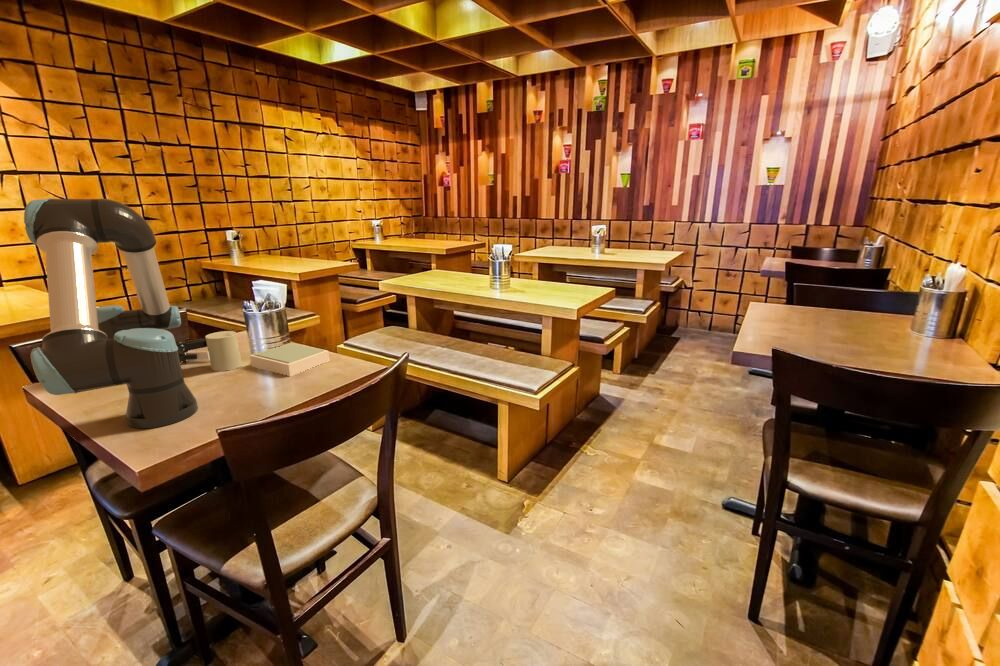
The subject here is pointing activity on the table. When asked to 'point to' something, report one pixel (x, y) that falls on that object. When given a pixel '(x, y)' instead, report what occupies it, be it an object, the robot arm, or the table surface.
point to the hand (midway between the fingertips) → (218, 348)
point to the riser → (289, 359)
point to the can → (223, 350)
